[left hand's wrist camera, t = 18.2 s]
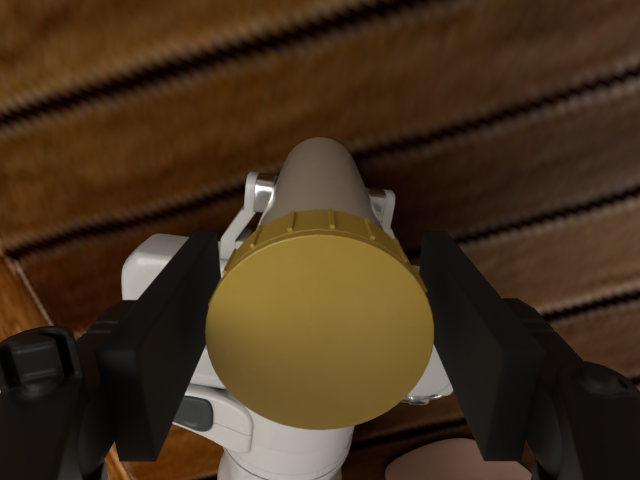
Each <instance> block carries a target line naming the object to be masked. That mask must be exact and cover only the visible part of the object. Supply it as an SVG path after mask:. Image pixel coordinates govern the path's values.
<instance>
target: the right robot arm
mask: <svg viewBox="0 0 640 480" xmlns="http://www.w3.org/2000/svg"><path fill="white" fill-rule="evenodd" d="M276 181H277V175H271V174H265V173H259V172H250V173H249V174H248V176H247V181H246V188H245V201H244V206H243V207H242V208H241V210H240V211H239V213H238V214H237V215H236V217H235V218H234V219H233V221H232V222H231V224H230V225H229V226H228V228H227V230H226V231H225V233H224V234H223V236H222V237H221V241H218V248H219V259H220V269H221V278H222V277H223V275H224V274H223V273H222V271H223V269H224V267H225V266H226V264H227V262H228V260H229V258H230V256H231V254H232V252H233V250H234V249H238V248H239V247H240V246H241V244H242V243H243V242H244V241H245V240H246V239H247V238H248V237H249V236H250V235H251V234H252V231H251V229H246V228H245V227H246V225H247V224H248V222H249V221H250V220H251V218H252V217H253V216H254V214H255V213H256V212H264V210H265V207H266V205H267V203H268V200H269V198H270V196H271V193H272V191H273V188H274V186H275V184H276ZM366 189H367V192H368V194H369V196H370V199H371V201H372V203H373V206H374V208H375V210H376V213H377V215H378V217H379V220H380V222H381V224H382V227H383V229H384V231H385V232H386V233H387V234H388V235H390V236H391V237H392V238H393V239H394V238H395V236H394V234H393V231H392V228H391V221H392V216H393V211H394V206H395V194H394V193H393V191H392V190H385V189H377V188H369V187H366ZM188 238H189V237H184V236H176V235H168V234H155V235H153V236H151V237H150V238H148V239H147V240H146V241H145V242H143V243H142V244H141V245H140V246H138V247H137V248H136V249H135V250H134V251H133V252H132V254H131V255H130V256H129V257H128V258H127V260H126V261H125V263H124V266H123V269H122V297H123V300H137V299H138V298H139V297H140V296H141V295H142V293H143V292H144V291H145V290H146V289H147V287H148V286H149V285H150V284H151V283H152V281H153V280H154V279H155V278H156V277H157V275H158V274H159V273H160V272H161V271H162V269H163V268H164V267H165V266H166V265H167V263H168V262H169V261H170V260H171V259H172V257H173V256H174V255H175V254H176V253H177V251H178V250H179V249H180V248H181V246H182V245H183V244H184V243H185V242H186V240H187V239H188ZM411 266H413V265H411ZM415 267H416V269H417V271H418V273H419V269H420V266H415ZM452 392H453V388H452V386H451V383H450V381H449V379H448V376H447V374H446V372H445V369H444V367H443V365H442V362H441V360H440V358H439V355H438V353H437V351H436V348H435V346H434V344H433V350H432V354H431V357H430V360H429V363H428V365H427V368H426V370H425V372H424V374H423V376H422V377H421V379H420V380H419V382H418V383H417V385H416V386H415V387H414V388H413V390H412V391H411V392H410V393H409V394H408V395H407V396H406V397H405V398H404V399H403V400H402V401H401V402H404V403H407V404H410V405H418V406H420V405H427V404H428V403H429V400H436V399H440V398H442V397H444V396H447V395H450V394H451V393H452ZM172 424H175V425H178V426H180V427H183V428H185V429H188V430H190V431H193V432H195V433H197V434H200V435H202V436H204V437H206V438H208V439H210V440H212V441H214V442H216V443H218V444H219V445H221V446H223V448H224V453H223V456H222V458H221V461H220V465H219V469H218V478H217V480H342V473H341V466H342V465H343V463H344V461H345V459H346V457H347V455H348V452H349V449H350V446H351V440H352V436H353V431H354V427H355V425H354V426H350V427H345V428H340V429H331V430H308V429H300V428H294V427H290V426H285V425H282V424H279V423H276V422H273V421H270V420H268V419H266V418H264V417H262V416H260V415H258V414H256V413H254V412H253V411H251V410H250V409H248V408H246V407H245V406H244V405H243V404H241V403H240V402H239V401H238V400H236V399H235V398H234V396H233V395H232V394H231V393H230V392H229V391H228V390H227V389H226V388H225V386H224V385H223V384H222V382H221V381H220V380H219V378H218V376H217V374H216V373H215V371H214V369H213V366H212V364H211V361H210V359H209V355H208V351H207V346H205V348H204V351H203V353H202V355H201V358H200V360H199V362H198V365H197V367H196V369H195V372H194V374H193V376H192V379H191V381H190V383H189V386H188V388H187V390H186V393H185V395H184V397H183V400H182V402H181V404H180V407H179V409H178V411H177V414H176V416H175V418H174V420H173V423H172Z"/></svg>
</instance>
